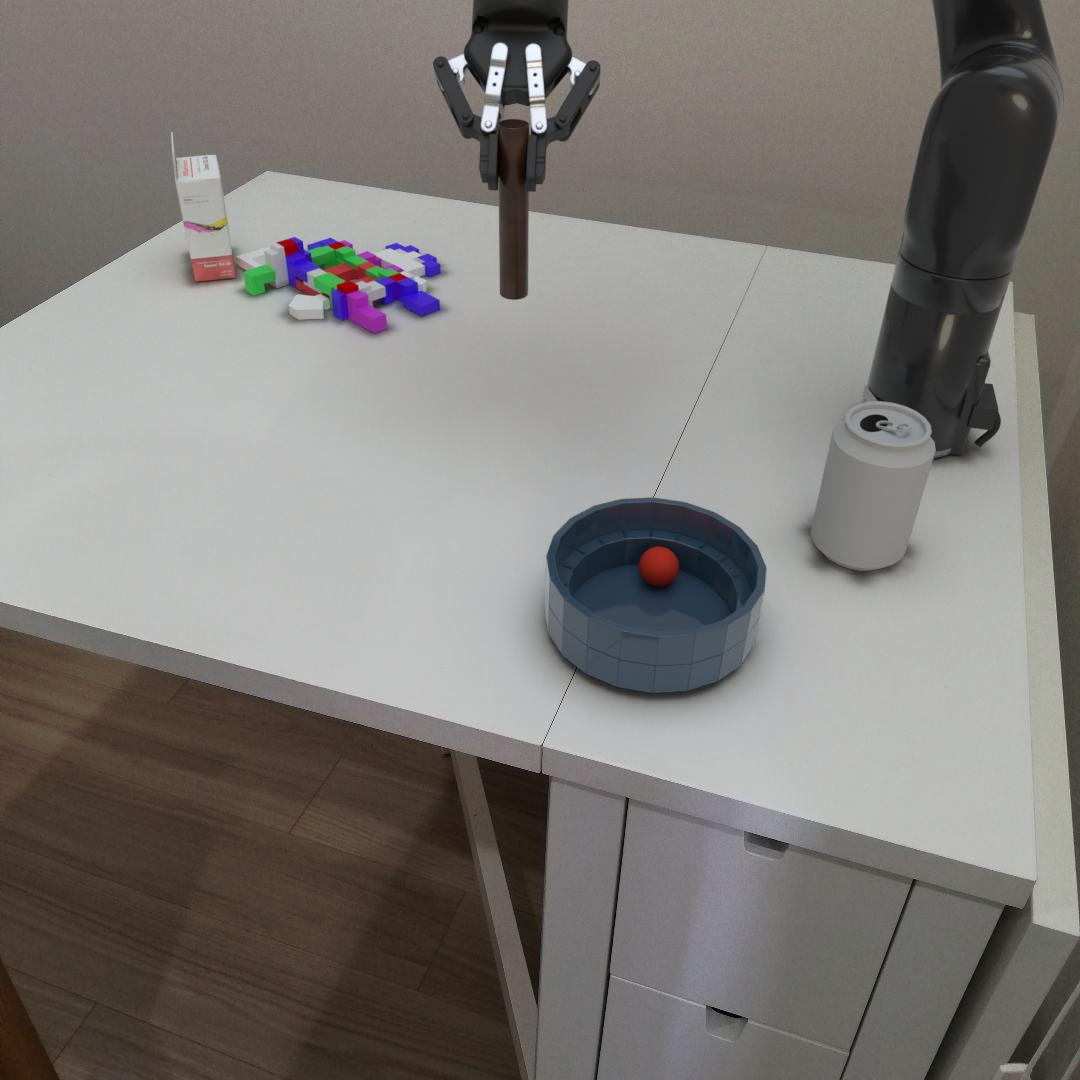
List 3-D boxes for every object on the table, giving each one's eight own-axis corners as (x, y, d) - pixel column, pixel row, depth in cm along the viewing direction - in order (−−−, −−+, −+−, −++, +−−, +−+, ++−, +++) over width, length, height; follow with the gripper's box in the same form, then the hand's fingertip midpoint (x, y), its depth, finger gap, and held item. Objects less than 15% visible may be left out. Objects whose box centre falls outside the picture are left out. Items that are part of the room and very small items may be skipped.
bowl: (759, 575, 82) (771, 513, 78) (746, 718, 70) (759, 653, 67) (567, 546, 85) (570, 485, 81) (524, 679, 73) (525, 615, 69)
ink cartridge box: (238, 278, 123) (216, 150, 114) (194, 283, 122) (169, 154, 113) (232, 250, 129) (211, 126, 120) (190, 254, 128) (166, 129, 119)
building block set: (487, 291, 121) (486, 254, 119) (338, 347, 110) (334, 308, 107) (358, 227, 135) (355, 193, 133) (215, 272, 124) (208, 235, 121)
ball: (679, 572, 81) (683, 541, 79) (674, 597, 79) (678, 566, 77) (640, 566, 82) (643, 536, 80) (634, 591, 79) (637, 560, 77)
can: (835, 508, 89) (864, 384, 82) (919, 544, 86) (957, 417, 78) (791, 550, 85) (818, 422, 77) (878, 590, 81) (915, 460, 74)
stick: (531, 289, 90) (532, 120, 82) (524, 301, 88) (525, 129, 80) (503, 286, 91) (502, 117, 82) (496, 298, 89) (494, 126, 80)
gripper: (428, -55, 80) (415, 161, 78) (611, -52, 80) (603, 166, 78) (440, 6, 88) (428, 205, 86) (607, 10, 87) (600, 210, 85)
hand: (512, 185), depth 82 cm, fingers closed on stick, 2 cm apart
